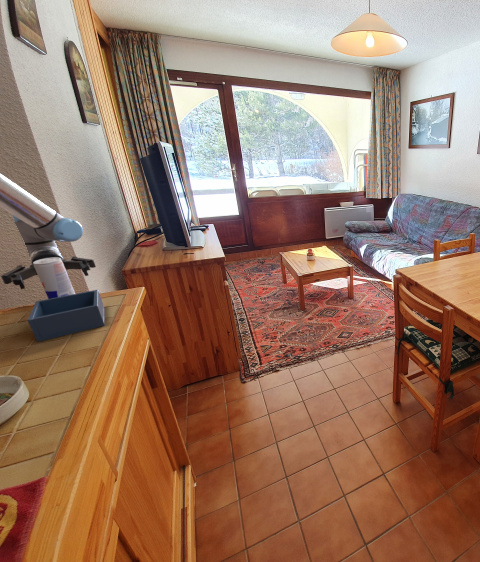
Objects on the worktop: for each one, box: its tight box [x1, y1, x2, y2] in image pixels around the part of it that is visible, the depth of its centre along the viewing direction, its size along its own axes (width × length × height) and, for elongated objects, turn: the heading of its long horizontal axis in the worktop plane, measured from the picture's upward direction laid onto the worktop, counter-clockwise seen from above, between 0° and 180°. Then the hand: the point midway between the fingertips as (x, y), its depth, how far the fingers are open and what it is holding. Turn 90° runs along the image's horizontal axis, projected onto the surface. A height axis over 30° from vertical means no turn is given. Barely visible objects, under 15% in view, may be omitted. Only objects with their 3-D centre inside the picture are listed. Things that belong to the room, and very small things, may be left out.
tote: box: [27, 289, 106, 343], centre depth 82 cm, size 13×13×6 cm
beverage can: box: [33, 257, 76, 299], centre depth 88 cm, size 6×6×15 cm
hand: (55, 277), depth 90 cm, fingers open, 13 cm apart
